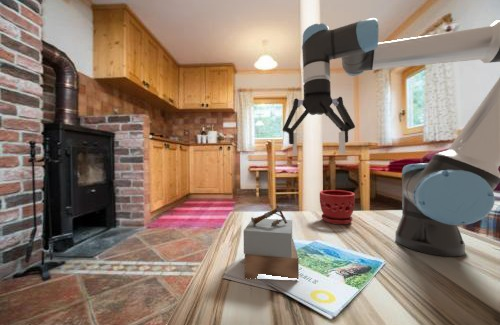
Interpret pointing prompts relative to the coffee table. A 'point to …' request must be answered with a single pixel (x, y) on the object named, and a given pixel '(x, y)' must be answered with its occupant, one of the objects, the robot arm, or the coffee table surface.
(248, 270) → the tower bottom
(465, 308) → the coffee table surface
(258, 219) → the wooden post with brackets
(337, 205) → the plant pot
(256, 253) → the tower top
